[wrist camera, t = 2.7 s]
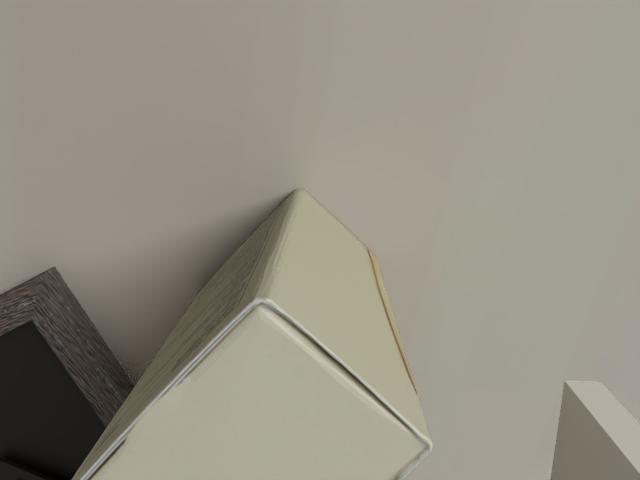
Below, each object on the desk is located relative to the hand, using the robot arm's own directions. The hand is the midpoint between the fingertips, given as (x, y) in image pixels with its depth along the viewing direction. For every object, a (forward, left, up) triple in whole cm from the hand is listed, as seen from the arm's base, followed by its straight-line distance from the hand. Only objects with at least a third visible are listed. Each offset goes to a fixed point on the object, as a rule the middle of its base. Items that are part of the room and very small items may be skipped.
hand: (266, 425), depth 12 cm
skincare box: (0, 0, -10) cm, 10 cm away
